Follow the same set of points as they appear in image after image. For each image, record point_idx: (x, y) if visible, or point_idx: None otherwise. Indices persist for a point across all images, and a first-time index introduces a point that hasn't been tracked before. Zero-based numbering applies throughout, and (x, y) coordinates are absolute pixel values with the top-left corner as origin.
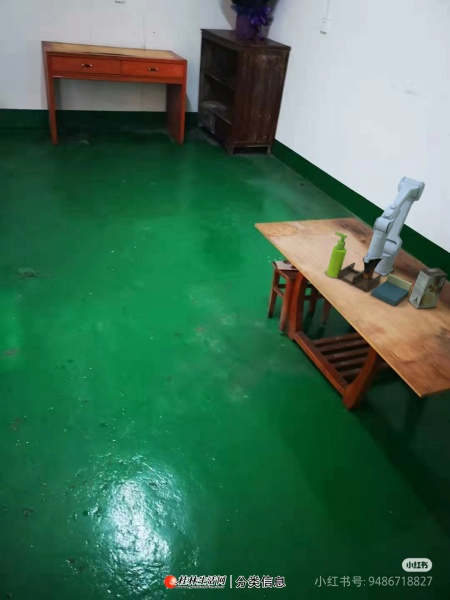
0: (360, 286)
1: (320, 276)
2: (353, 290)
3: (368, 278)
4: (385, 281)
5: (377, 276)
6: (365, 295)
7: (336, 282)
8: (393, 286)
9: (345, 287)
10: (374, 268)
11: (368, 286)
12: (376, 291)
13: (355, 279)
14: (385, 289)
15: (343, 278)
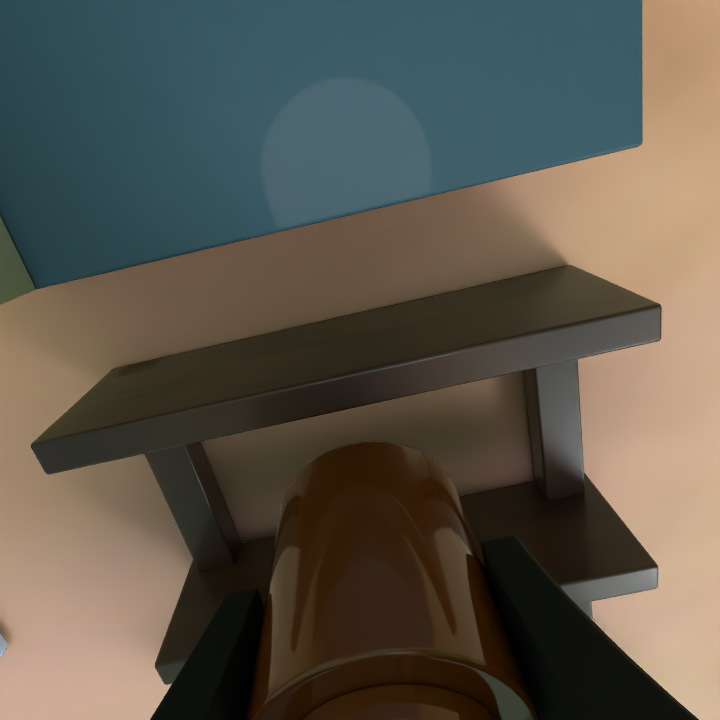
0: (568, 390)
1: (716, 708)
2: (688, 375)
3: (428, 460)
4: (62, 275)
5: (178, 440)
6: (669, 187)
7: (687, 582)
8: (8, 19)
9: (706, 469)
10: (357, 666)
11: (561, 296)
12: (612, 58)
13: (559, 535)
14: (331, 15)
15: (589, 611)
